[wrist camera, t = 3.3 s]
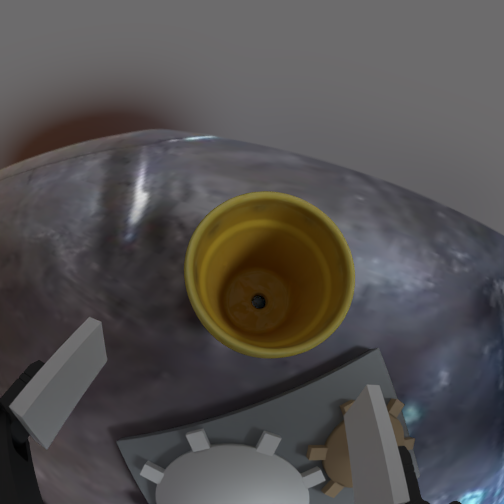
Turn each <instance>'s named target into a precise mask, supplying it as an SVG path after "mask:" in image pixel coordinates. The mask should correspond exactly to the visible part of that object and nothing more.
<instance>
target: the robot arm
mask: <svg viewBox="0 0 504 504" xmlns="http://www.w3.org/2000/svg"><path fill="white" fill-rule="evenodd" d="M106 362H107V355H106V349H105V343H104V336H103V329H102V322H101V321H98V320H96V319H93V318H91V317H89V318H88V319H87V320H86V321H85V322H84V323H83V324H82V325H81V326H80V327H79V328H78V329H77V330H76V331H75V332H74V333H73V334H72V335H71V336H70V337H69V338H68V339H67V340H66V342H65V343H64V344H63V345H62V346H61V347H60V348H59V349H58V350H57V351H56V352H55V353H54V354H53V356H52V357H51V358H50V359H49V360H48V361H47V362H46V363H43V362H41V361H40V360H38V361H36V362H34V363H32V364H31V365H30V366H29V367H28V368H27V369H26V370H25V371H24V373H22V374H21V375H20V377H19V379H17V380H16V381H15V382H14V383H13V385H12V386H11V387H10V388H9V389H8V390H7V392H6V393H5V394H4V395H3V396H2V397H1V398H0V504H43V501H42V497H41V494H40V491H39V487H38V483H37V479H36V475H35V471H34V467H33V462H32V457H31V451H30V445H29V441H28V437H29V435H30V436H31V437H32V438H33V439H34V441H36V442H37V443H38V444H40V445H41V446H43V447H44V448H45V449H48V448H49V446H50V444H51V443H52V441H53V440H54V438H55V437H56V435H57V433H58V432H59V430H60V429H61V427H62V426H63V424H64V423H65V421H66V419H67V418H68V416H69V415H70V413H71V412H72V410H73V409H74V407H75V406H76V405H77V403H78V402H79V400H80V399H81V397H82V396H83V394H84V393H85V391H86V390H87V389H88V387H89V386H90V384H91V383H92V381H93V380H94V379H95V377H96V376H97V374H98V373H99V372H100V370H101V369H102V367H103V366H104V365H105V363H106ZM344 423H345V429H346V436H347V443H348V450H349V457H350V465H351V473H352V482H353V492H354V503H355V504H430V503H428V502H427V501H424V500H423V499H422V498H421V495H420V490H419V486H418V481H417V477H416V473H415V472H414V470H415V469H414V465H413V464H412V463H413V462H412V458H411V454H410V452H409V451H408V450H407V448H406V447H405V446H397V442H396V438H395V435H394V431H393V428H392V424H391V421H390V417H389V414H388V411H387V407H386V404H385V401H384V398H383V395H382V391H381V388H380V385H368V384H367V385H366V386H365V388H364V389H363V390H362V392H361V393H360V395H359V396H358V397H357V399H356V400H355V402H354V403H353V404H352V406H351V407H350V408H349V410H348V411H347V412H346V413H345V415H344ZM449 504H461V503H460V502H458V501H453V502H451V503H449Z"/></svg>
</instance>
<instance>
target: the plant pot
mask: <svg viewBox="0 0 504 504" xmlns="http://www.w3.org/2000/svg"><path fill="white" fill-rule="evenodd" d="M184 278H185V285H186V290H187V294H188V297H189V300H190V302H191V305H192V307H193V309H194V311H195V313H196V315H197V317H198V318H199V320H200V321H201V323H202V324H203V326H204V327H205V328H206V329H207V330H208V332H209V333H210V334H211V335H212V336H213V337H215V338H216V339H217V340H218V341H219V342H221V343H222V344H223V345H225V346H227V347H228V348H230V349H232V350H234V351H236V352H239V353H241V354H244V355H248V356H252V357H258V358H282V357H288V356H293V355H297V354H300V353H303V352H306V351H308V350H310V349H312V348H314V347H315V346H317V345H319V344H320V343H322V342H323V341H324V340H326V339H327V338H328V337H329V336H330V335H331V334H332V333H333V332H334V331H335V330H336V329H337V328H338V327H339V325H340V324H341V323H342V321H343V319H344V318H345V316H346V314H347V312H348V310H349V307H350V305H351V301H352V298H353V294H354V287H355V270H354V263H353V258H352V255H351V252H350V249H349V246H348V244H347V242H346V240H345V238H344V236H343V235H342V233H341V231H340V230H339V229H338V227H337V226H336V225H335V223H334V222H333V221H332V220H331V219H330V218H329V217H328V216H327V215H326V214H324V213H323V212H322V211H321V210H319V209H318V208H317V207H315V206H314V205H312V204H310V203H308V202H306V201H304V200H302V199H300V198H298V197H295V196H292V195H288V194H284V193H279V192H268V191H263V192H252V193H246V194H243V195H239V196H236V197H234V198H231V199H229V200H227V201H225V202H223V203H222V204H220V205H219V206H217V207H216V208H214V209H213V210H212V211H211V212H210V213H208V214H207V215H206V216H205V218H204V219H203V220H202V221H201V222H200V224H199V225H198V226H197V228H196V229H195V231H194V233H193V235H192V237H191V239H190V241H189V244H188V247H187V251H186V255H185V262H184ZM257 295H261V296H263V297H264V298H265V301H266V305H265V307H264V308H262V309H258V308H255V307H254V306H253V304H252V299H253V298H254V297H255V296H257Z"/></svg>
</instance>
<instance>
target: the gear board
mask: <svg viewBox="0 0 504 504" xmlns="http://www.w3.org/2000/svg"><path fill="white" fill-rule="evenodd" d="M367 384H368V385H380V388H381V391H382V395H383V398H384V401H385V404H386V407H387V411H388V414H389V417H390V421H391V424H392V428H393V431H394V435H395V438H396V442H397V446H405V447H406V448H407V450H408V451H409V452H410V454H411V458H412V462H413V463H412V464H413V465H414V469H415V470H414V472H415V473H416V477H417V478H419V477H420V473H419V469H418V465H417V461H416V457H415V454H414V450H413V446H414V441H415V438H412V437H410V436H409V433H408V429H407V426H406V423H405V420H404V417H403V414H402V408H403V407H404V405H405V404H403V403H402V402H400V401H399V400H398V399H397V396H396V393H395V390H394V387H393V384H392V382H391V379H390V376H389V373H388V371H387V368H386V365H385V363H384V360H383V358H382V355H381V352H380V350H379V348H375V349H370V350H369V351H367V352H365V353H363V354H362V355H360V356H358V357H356V358H354V359H353V360H351V361H349V362H347V363H345V364H343V365H341V366H339V367H337V368H335V369H334V370H332V371H330V372H328V373H325V374H323V375H321V376H319V377H317V378H315V379H313V380H311V381H309V382H306V383H304V384H302V385H300V386H297V387H295V388H293V389H291V390H288V391H286V392H283V393H281V394H279V395H276V396H274V397H271V398H268V399H266V400H263V401H261V402H258V403H255V404H253V405H250V406H247V407H244V408H241V409H238V410H235V411H232V412H229V413H226V414H223V415H220V416H216V417H213V418H210V419H206V420H203V421H199V422H195V423H192V424H188V425H184V426H180V427H176V428H171V429H167V430H162V431H157V432H153V433H147V434H142V435H136V436H130V437H124V438H121V439H119V440H118V441H116V442H117V444H118V447H119V449H120V451H121V453H122V455H123V457H124V459H125V462H126V464H127V466H128V468H129V470H130V471H131V473H132V475H133V477H134V479H135V481H136V483H137V485H138V486H139V488H140V490H141V492H142V493H143V495H144V497H145V498H146V500H147V502H148V503H149V504H355V503H354V492H353V482H352V473H351V465H350V457H349V450H348V443H347V436H346V429H345V423H344V415H345V413H346V412H347V411H348V410H349V408H350V407H351V406H352V404H353V403H354V402H355V400H356V399H357V397H358V396H359V395H360V393H361V392H362V390H363V389H364V388H365V386H366V385H367Z"/></svg>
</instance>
